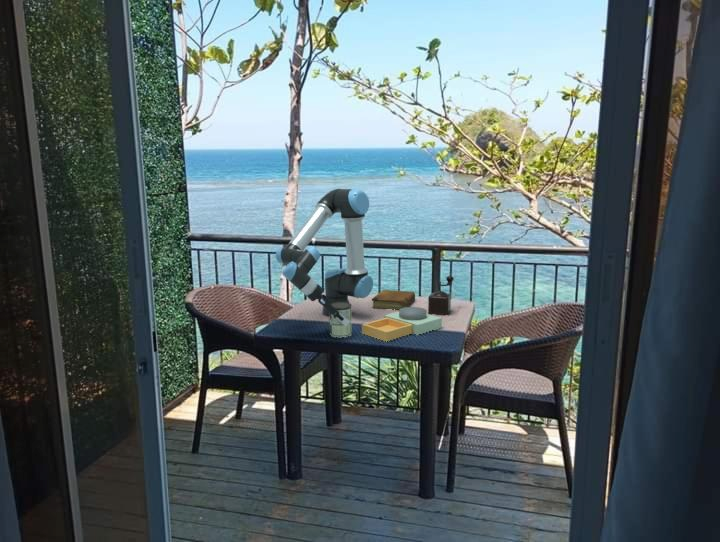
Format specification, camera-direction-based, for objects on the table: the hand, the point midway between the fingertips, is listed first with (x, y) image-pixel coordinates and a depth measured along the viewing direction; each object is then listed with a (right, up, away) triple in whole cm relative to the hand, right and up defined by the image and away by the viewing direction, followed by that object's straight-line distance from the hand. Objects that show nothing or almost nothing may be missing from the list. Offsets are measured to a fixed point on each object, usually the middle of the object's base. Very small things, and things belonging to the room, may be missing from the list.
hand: (345, 320), depth 263 cm
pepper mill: (+49, +1, +39) cm, 63 cm away
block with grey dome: (+32, -4, +12) cm, 34 cm away
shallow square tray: (+19, -7, +1) cm, 20 cm away
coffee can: (-2, -7, +1) cm, 7 cm away
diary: (+25, +3, +53) cm, 59 cm away
